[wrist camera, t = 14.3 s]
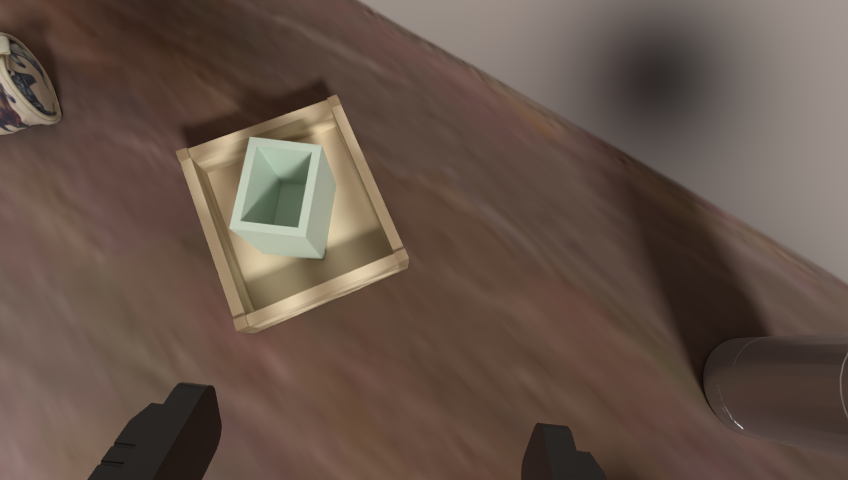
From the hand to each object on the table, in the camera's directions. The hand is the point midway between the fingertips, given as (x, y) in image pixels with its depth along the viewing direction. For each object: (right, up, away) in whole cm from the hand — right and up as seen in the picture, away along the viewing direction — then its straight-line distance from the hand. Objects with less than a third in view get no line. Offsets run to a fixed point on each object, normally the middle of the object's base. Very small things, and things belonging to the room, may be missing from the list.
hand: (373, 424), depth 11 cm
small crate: (-11, +7, +34) cm, 36 cm away
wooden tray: (-11, +7, +35) cm, 37 cm away
